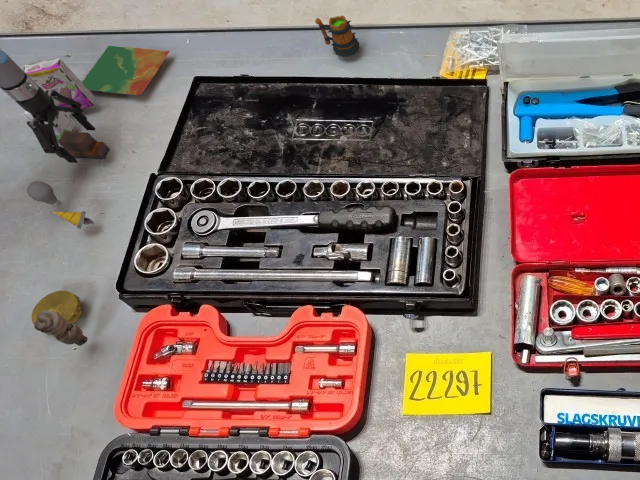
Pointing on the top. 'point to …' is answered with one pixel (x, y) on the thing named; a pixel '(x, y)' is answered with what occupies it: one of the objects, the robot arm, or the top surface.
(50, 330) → the brown lumpy elongated piece
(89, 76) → the terrain model
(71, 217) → the drill bit
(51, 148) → the robot arm
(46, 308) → the yellow round disc
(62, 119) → the ink box
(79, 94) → the candy bar box
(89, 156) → the brown stepped block
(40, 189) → the light bulb
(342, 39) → the mug
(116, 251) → the top surface
